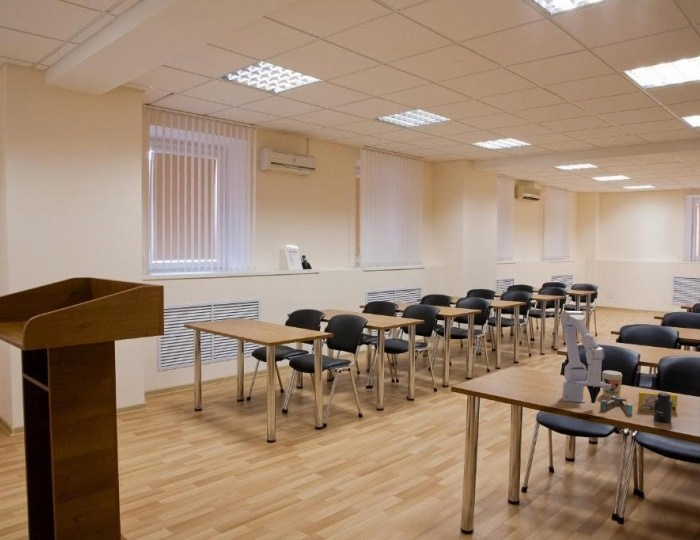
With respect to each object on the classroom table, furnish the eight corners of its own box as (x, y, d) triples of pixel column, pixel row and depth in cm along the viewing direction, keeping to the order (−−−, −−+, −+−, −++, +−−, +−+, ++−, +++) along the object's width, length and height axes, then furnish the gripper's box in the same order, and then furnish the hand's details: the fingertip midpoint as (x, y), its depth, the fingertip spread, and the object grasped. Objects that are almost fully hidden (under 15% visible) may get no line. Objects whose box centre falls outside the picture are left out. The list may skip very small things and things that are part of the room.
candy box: (639, 410, 253) (640, 392, 252) (637, 409, 255) (638, 391, 254) (676, 413, 250) (677, 395, 250) (674, 411, 252) (675, 394, 252)
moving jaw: (600, 410, 250) (600, 401, 250) (610, 405, 259) (611, 396, 259) (604, 411, 249) (605, 401, 249) (615, 406, 257) (615, 397, 257)
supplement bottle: (654, 422, 235) (656, 394, 234) (652, 417, 241) (653, 391, 241) (672, 424, 232) (674, 396, 232) (669, 420, 239) (671, 393, 238)
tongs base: (616, 413, 246) (616, 403, 246) (609, 403, 263) (609, 394, 263) (633, 415, 244) (633, 405, 244) (625, 404, 261) (625, 395, 261)
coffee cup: (601, 396, 275) (602, 373, 274) (600, 391, 283) (601, 369, 282) (621, 399, 271) (623, 375, 270) (620, 394, 279) (621, 371, 279)
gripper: (578, 374, 249) (577, 403, 250) (612, 376, 245) (611, 406, 246) (576, 370, 256) (575, 399, 257) (610, 373, 252) (608, 402, 253)
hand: (593, 402), depth 252 cm, fingers closed
